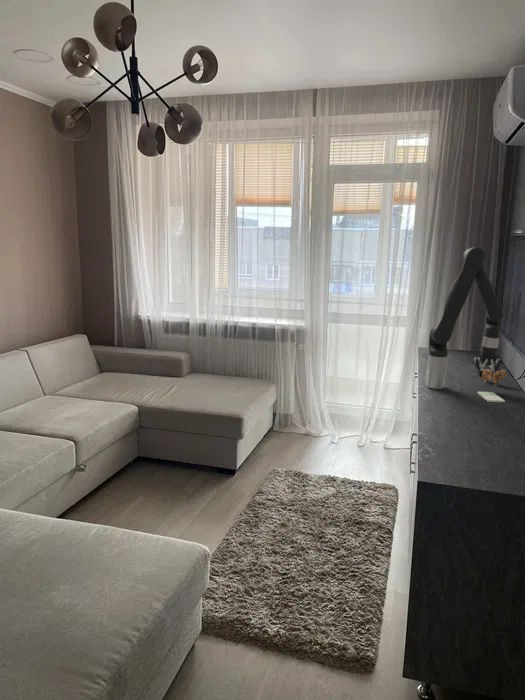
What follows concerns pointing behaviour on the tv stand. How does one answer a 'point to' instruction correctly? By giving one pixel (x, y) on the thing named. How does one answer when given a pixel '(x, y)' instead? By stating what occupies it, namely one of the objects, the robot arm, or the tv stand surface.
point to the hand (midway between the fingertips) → (485, 377)
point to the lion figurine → (498, 376)
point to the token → (486, 374)
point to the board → (491, 397)
